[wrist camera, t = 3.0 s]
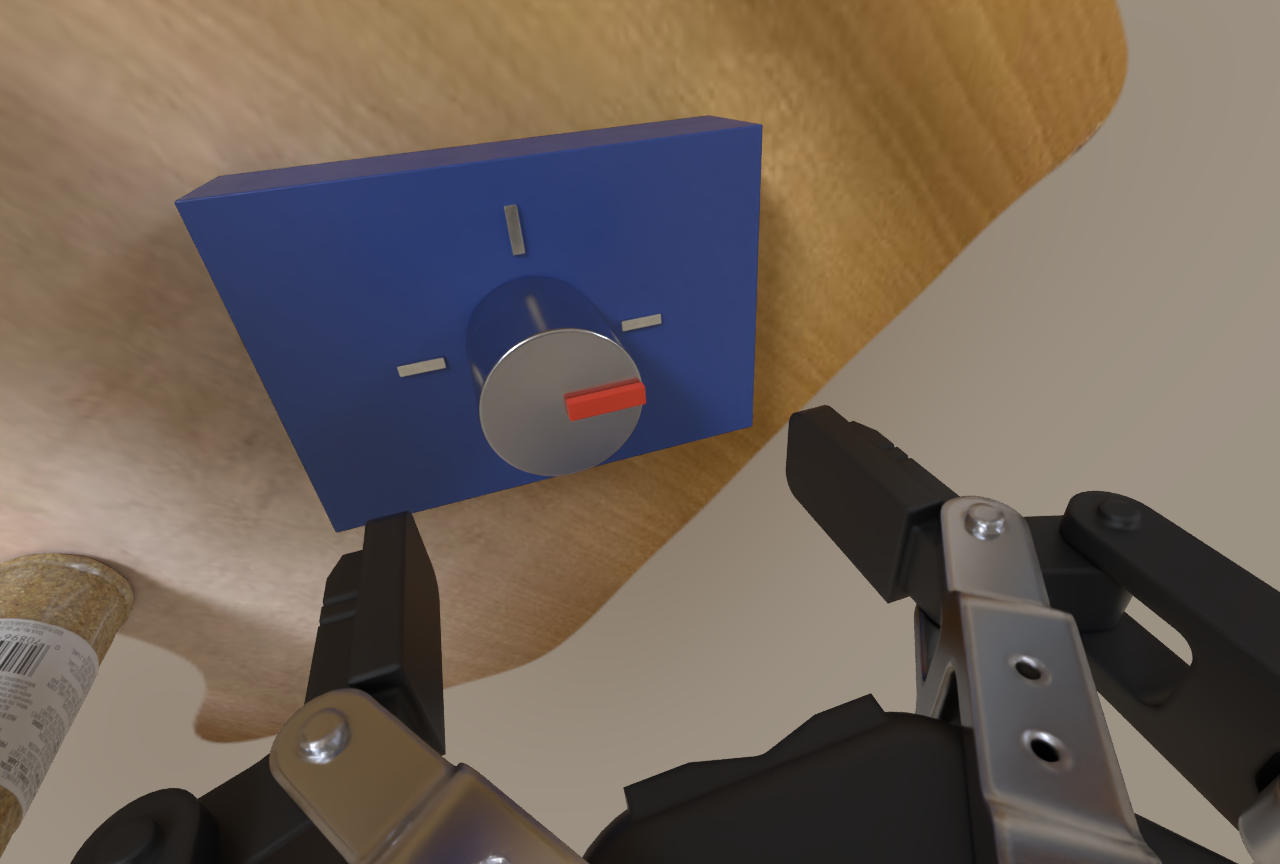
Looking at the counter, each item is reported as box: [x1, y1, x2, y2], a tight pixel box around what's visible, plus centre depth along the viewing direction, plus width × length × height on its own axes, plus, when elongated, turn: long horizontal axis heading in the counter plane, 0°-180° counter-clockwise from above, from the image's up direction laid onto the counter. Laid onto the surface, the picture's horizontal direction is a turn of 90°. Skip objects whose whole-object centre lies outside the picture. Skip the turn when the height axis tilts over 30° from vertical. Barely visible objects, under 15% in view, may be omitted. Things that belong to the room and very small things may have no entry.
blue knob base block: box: [175, 115, 762, 533], centre depth 21 cm, size 16×11×4 cm
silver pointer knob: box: [466, 276, 646, 476], centre depth 17 cm, size 4×4×5 cm
